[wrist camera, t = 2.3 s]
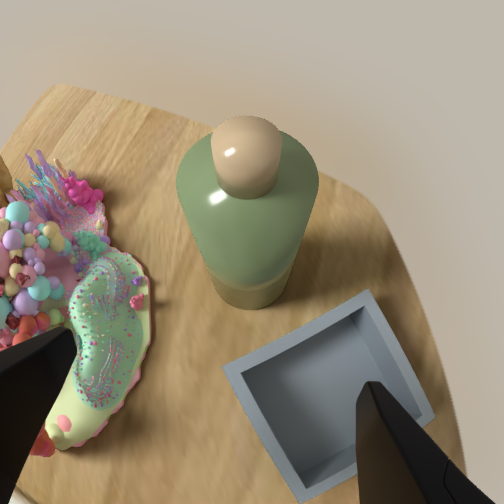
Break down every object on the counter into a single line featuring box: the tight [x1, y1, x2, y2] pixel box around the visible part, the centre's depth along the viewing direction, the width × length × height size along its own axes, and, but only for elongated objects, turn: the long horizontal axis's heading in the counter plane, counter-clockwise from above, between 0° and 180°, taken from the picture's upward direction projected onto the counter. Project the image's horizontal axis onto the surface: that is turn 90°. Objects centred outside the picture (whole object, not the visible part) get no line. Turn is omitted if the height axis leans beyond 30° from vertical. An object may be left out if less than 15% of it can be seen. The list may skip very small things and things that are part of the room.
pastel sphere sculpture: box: [0, 149, 151, 457], centre depth 18 cm, size 25×24×9 cm
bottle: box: [176, 116, 319, 310], centre depth 16 cm, size 6×6×14 cm
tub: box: [221, 288, 436, 504], centre depth 18 cm, size 10×10×4 cm
